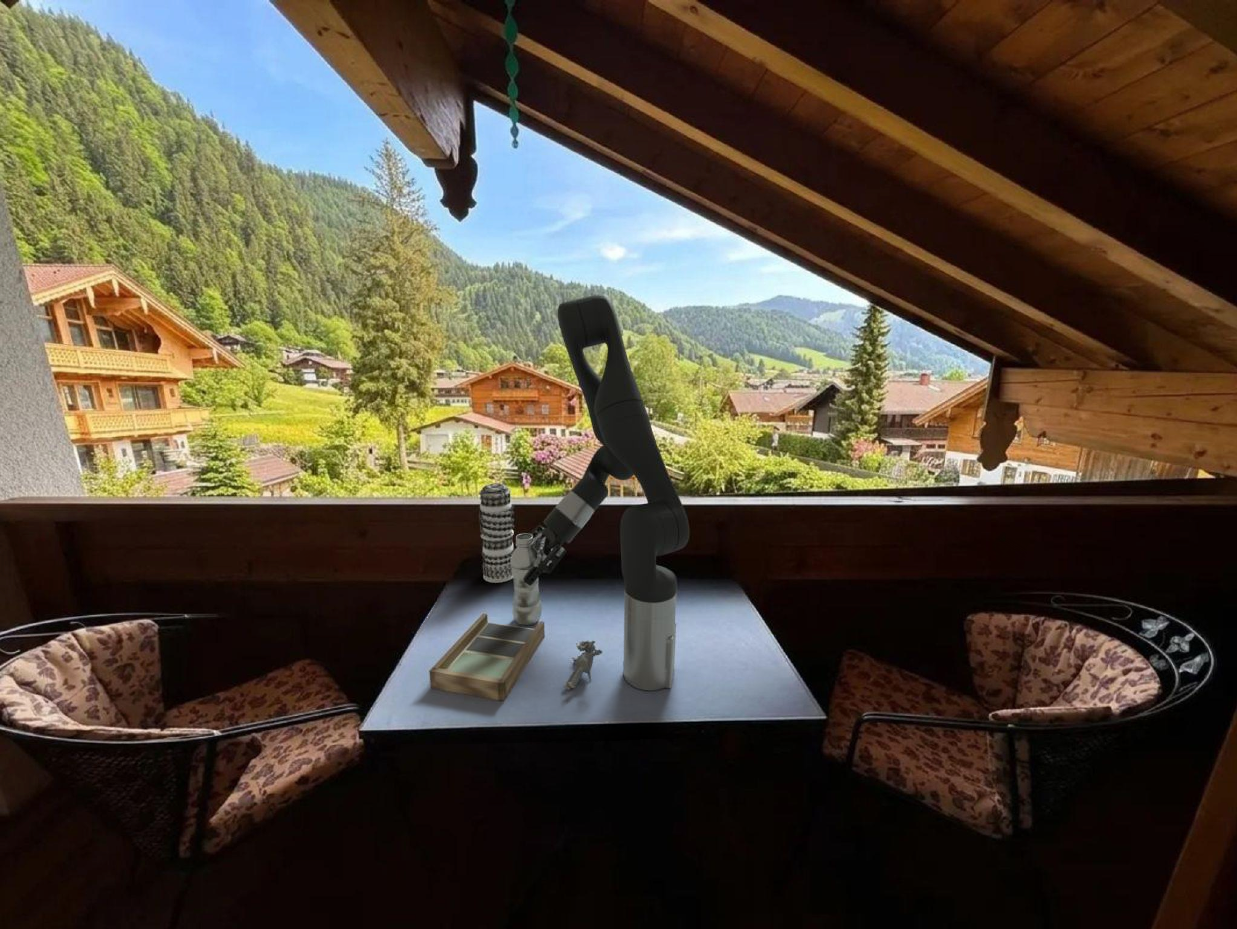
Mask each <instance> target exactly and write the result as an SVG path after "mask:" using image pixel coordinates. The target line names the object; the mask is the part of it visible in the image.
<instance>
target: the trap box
mask: <svg viewBox="0 0 1237 929" xmlns="http://www.w3.org/2000/svg"><path fill="white" fill-rule="evenodd" d="M545 632H546V631H545V621H539V622H538V623H537V625H536V626H535V628H529V627H522V626H517V625H510V624H509V625H508V624H502V623H494V622H493V623H492V622H489V621H488V614H487V613H481V615H480V616H479V617H478V618H477V619H476V620H475V621H474V622H473V623H472V625H471V626H469V628H467V630H465V632H464V633H463V634H462V635H461V636H460V637H459V639H458V640H457V641H455V643H454V644H453V645H452V646H451V647H450V648H448V650H447V651H446V652H445V653H444V655H443V656H442V657H441V658H440V659H439V660H437V662H436V663H435V664H434V665H433V666H432V667H431V668H430V669H429V670H428V672H429V682H430V688H431V689H435V690H440V691H446V692H452V693H456V694H457V693H458V694H463V695H469V696H474V697H479V698H485V699H491V700H496V701H501V702H505V700H506V699H507V698H508V696H509V694H510V692H511V691H512V689H513V687H514V685H516V682H518V680H519V678H520V677H521V675H522V673H523V671H525V668H526V667H527V665H528V664H529V662H530V661H531V659H532V657H533V656H534V655H535V653H536V652H537V649H538V648H539V646H540V645H541V644H542V642H543V641H544V639H545V636H546V635H545Z"/></svg>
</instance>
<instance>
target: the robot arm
mask: <svg viewBox="0 0 1237 929" xmlns="http://www.w3.org/2000/svg"><path fill="white" fill-rule="evenodd" d="M557 321H558V325H559V329H560V333H561V336H562V340H563V342H564V346H565V348H566V351H567V354H568V357H569V360H570V363H571V366H572V369H573V371H574V374H575V377H576V380H577V382H578V384H579V387H580V389H581V392H582V395H583V397H584V401H585V404H586V407H587V410H588V415H589V418H590V423H591V424H590V425H591V428H592V431H593V434H594V437H595V439H597V440H598V441H599V442H600V443H601V446H600V447H599V448H598V449H597V450H596V451H595V453H594V454H593V456H592V458H591V459H590V461H589V464H588V466H587V467H586V469H585V471H584V473H583V476H582V477H581V478H580V479H579V481H578V482H577V483H576V484H575V486H573V488H572V489H571V490H570V491H569V492H568V493H567V494H566V495H565V496H564V497H563V498H562V499H561V500H560V501H559V502H558V504H557V505H556V506H555V507H554V508H553V509H552V510H551V512H550V513H549V514H548V515H547V516H546V518H544V520H543V524H544V526H546V527H543V526H542V525H540V524H538V525H536V527H534V529H533V530H532V531H531V532H530V533H529V534H532V535H533V542H534V544H533V545H532V546H533V547H534V548H535V549H536V551H537V552H538V554H537V557H538V559H537V561H536V564H535V566H533V567H532V568H531V570H530V571H529V572H528V573H527V574H526V576H525V577H524V578H523V580H524V582H525V583H527V584H528V585H532V584H533V583H534V582H535V580H536V579H537V578H538V579H539V577H540V576H541V574H543V573H546V574H548V575H549V574H551V573H552V572H553V570H554V569H555V568H556V567H557V565H558V564H559V563H560V561H561V560H562V559H563V557H564V556H565V555H566V554H567V550H566V549H565V547H563V546H562V545H563V543H566V544H570V543H571V542H572V541H573V539H574V538H576V537H575V536H577V534H578V533H580V532H581V530H582V529H583V528H584V526H585V525H586V524H587V523H588V521H589V520H590V519H591V517H592V515H593V514H594V512H595V511H596V510H597V509H598V508H599V506H600V505H601V504H602V503H603V502H604V501H605V499H606V498H607V496H608V495H609V488H608V487H607V485H606V482H607V480H608V478H609V476H611V477H612V478H614V479H616V480H620V481H627V480H629V479H631V478H633V476H634V477H635V478H636V480H637V481H638V483H639V485H640V487H641V488H642V491H643V493H644V495H645V498H646V501H647V503H642V504H638V505H637V504H636V505H632V506H630V507H628V508H626V509H625V510H624V512H623V514H622V516H621V520H620V529H619V532H620V534H619V536H620V538H619V539H620V553H621V554H620V556H621V557H620V558H621V561H620V562H621V564H620V565H621V572H622V576H623V582H624V610H623V611H624V613H623V614H624V616H623V617H624V618H623V621H624V622H623V661H622V662H623V664H622V665H623V670H622V671H623V672H622V673H623V677H624V679H625V681H626V682H627V683H628V684H629V685H631V686H633V687H634V688H636V689H639V690H644V691H656V690H661V689H664V688H667V689H671V688H672V684H673V678H674V677H673V676H674V671H675V662H676V661H675V658H676V657H675V656H676V655H675V654H676V637H677V636H676V634H677V622H676V613H677V611H676V610H677V586H678V585H677V584H678V582H677V580H678V579H677V576H676V574H675V573H674V572H673V571H672V570H670V569H668V568H667V567H664V566H661V565H657V557H660V556H664V555H667V554H670V553H673V552H676V551H680V550H681V549H683V548H685V547H686V545H687V544H688V542H689V539H690V526H689V525H690V523H689V520H688V515H687V514H686V510H685V507H684V505H683V503H682V501H681V498H680V497H679V494H678V492H677V489H676V487H675V485H674V483H673V481H672V478H671V477H670V474H669V472H668V470H667V467H666V465H665V462H664V459H663V456H662V455H661V452H660V449H659V446H658V442H657V440H656V438H655V434H654V432H653V428H652V426H651V425H652V424H651V421H650V418H649V414H648V412H647V409H646V406H645V403H644V400H643V397H642V395H641V393H640V390H639V387H638V384H637V381H636V378H635V376H634V373H633V371H632V368H631V364H630V362H629V358H628V354H627V350H626V347H625V342H624V339H623V335H622V333H621V327H620V325H619V320H618V317H617V314H616V311H615V307H614V305H613V302H612V301H611V299H610V297H609V296H608V295H607V294H606V293H605V294H604V293H596V294H592V295H588V296H584V297H580V298H575V299H572V300H568V301H565V302H561V303H560V304H559V305H558V306H557ZM601 344H605V345H606V347H607V353H606V361H605V365H604V366H605V367H604V371H603V374H602V377H601V376H599V374H598V373H597V372H596V371H595V370H594V368H592V366H591V364H589V362H588V360H587V358H586V355H585V353H584V349H586V348H589V347H594V346H598V345H601Z"/></svg>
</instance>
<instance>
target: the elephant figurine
mask: <svg viewBox="0 0 1237 929" xmlns="http://www.w3.org/2000/svg"><path fill="white" fill-rule="evenodd" d="M578 643H579V644H578ZM578 643H577V642H576V643H575V644H576V647H577V650H578V651H580V652H582V653H581V654H580V655H579V656H577V658H575V657H572V658H571V659H572V661H573V662H574V666H575V668H574V671H572V673H571V674H570V676H569V677H568V680H567V681H566V683H565V684H563V685H562V686H563V687H564V688H565V689H566V690H569V691H570V690H571V689H575V688H576V687H577V684H578V683H579V680H580V677H582V675H583V673H585V674H587V676H588V679H589V682H590V683H591V682H592V681H591V680H592V678H591V677H592V676H591V669H592V666H593V664H594V657H596V656H599V655H601V654H603V650H602V649H600V648H599V649H596V645H594V644H595V643H596V641H595V640H592V641H589V640H585V641H579V642H578Z"/></svg>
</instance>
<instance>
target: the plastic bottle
mask: <svg viewBox="0 0 1237 929" xmlns="http://www.w3.org/2000/svg"><path fill="white" fill-rule="evenodd" d="M533 544H534V542H533V535H532V534H530V533H526V532H525V533H523V532H522V533H519V534H517V535H516V536H515V546H516V548H514V552H513V554H512V556H511V559H510V562H511V568H512V573H513V578H512V580H513V589H514V590H513V603H512V616H513V619H514V621H515V622H516V623H517V624H519V625H523V626H528V625H533V624H535V623H537V622H538V621H539V620H540V618H541V616H542V611H543V607H542V602H541V598H540V589H539V577H538V578H537V579H536V580H535V582H534V583H533V584H532V585H528V584H527V583H525V582H524V580H523V578H524V577H525V576H526V574H527V573H528V572H529V571H530V570H531V568H532V567H533V566H535V564H536V561H537V559H538V557H537V554H538V552H537V551H536V549H535V548H534V547H533V546H532V545H533Z"/></svg>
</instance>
